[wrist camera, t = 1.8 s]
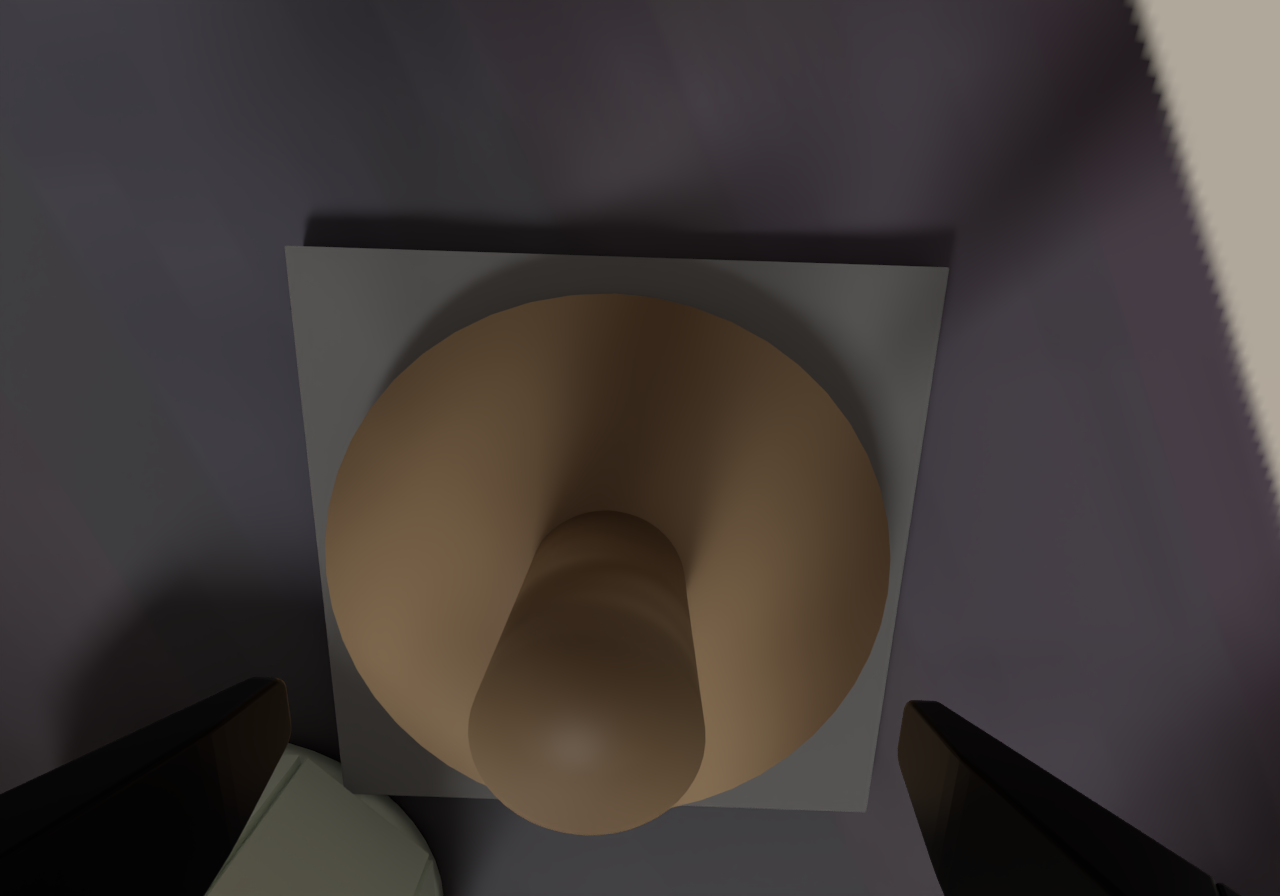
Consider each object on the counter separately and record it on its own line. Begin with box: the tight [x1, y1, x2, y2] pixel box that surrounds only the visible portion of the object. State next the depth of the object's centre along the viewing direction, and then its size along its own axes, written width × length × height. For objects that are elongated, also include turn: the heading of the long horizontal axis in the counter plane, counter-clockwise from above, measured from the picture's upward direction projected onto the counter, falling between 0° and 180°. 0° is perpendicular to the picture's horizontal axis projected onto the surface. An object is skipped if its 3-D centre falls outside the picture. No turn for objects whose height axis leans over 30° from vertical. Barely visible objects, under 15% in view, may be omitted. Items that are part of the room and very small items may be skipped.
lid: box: [325, 293, 891, 835], centre depth 11 cm, size 12×12×6 cm
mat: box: [285, 246, 949, 812], centre depth 14 cm, size 13×13×1 cm
